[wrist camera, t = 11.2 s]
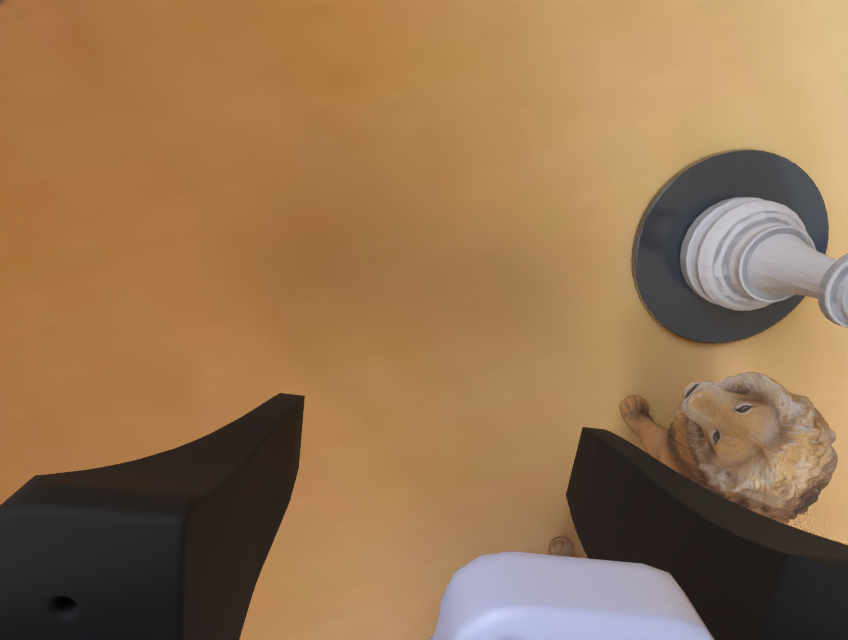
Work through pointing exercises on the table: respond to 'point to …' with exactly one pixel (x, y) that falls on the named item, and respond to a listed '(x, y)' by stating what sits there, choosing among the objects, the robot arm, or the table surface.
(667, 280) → the coaster
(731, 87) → the table surface
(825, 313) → the chess piece
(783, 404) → the lion figurine
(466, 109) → the table surface
